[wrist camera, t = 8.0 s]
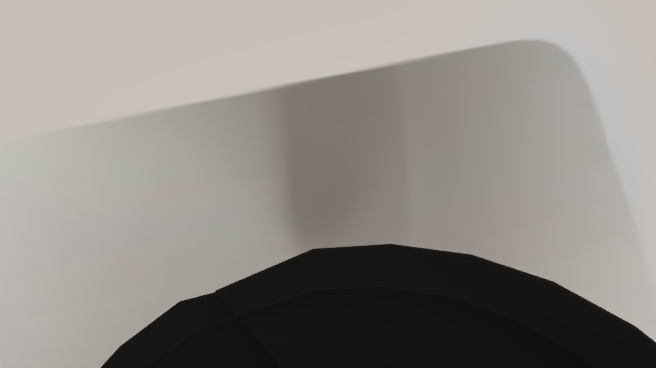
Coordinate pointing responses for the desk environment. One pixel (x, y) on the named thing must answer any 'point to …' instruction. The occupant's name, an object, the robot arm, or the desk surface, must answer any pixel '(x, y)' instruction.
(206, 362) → the travel mug
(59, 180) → the desk surface
